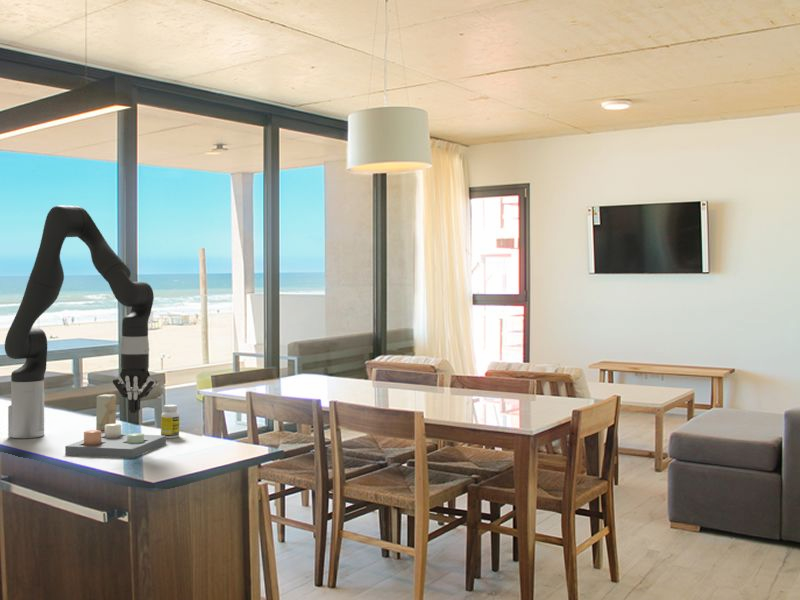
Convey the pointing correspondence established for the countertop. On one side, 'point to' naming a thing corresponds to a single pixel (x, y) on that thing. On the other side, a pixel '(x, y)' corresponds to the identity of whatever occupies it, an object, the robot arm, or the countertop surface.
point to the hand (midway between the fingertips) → (134, 412)
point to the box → (105, 411)
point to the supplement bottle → (170, 422)
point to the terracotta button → (92, 438)
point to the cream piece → (113, 431)
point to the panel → (116, 447)
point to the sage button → (135, 438)
